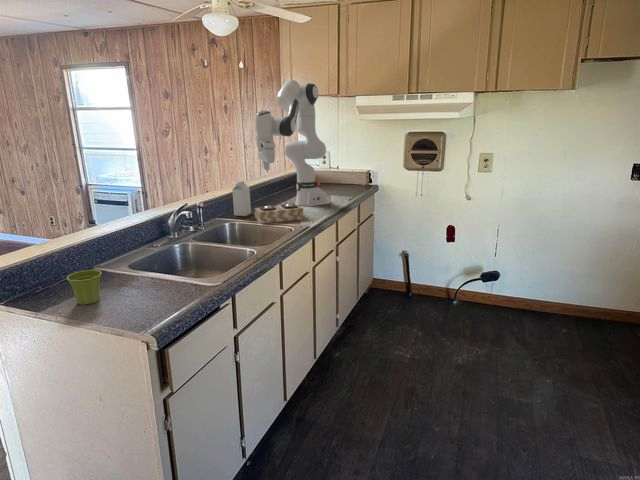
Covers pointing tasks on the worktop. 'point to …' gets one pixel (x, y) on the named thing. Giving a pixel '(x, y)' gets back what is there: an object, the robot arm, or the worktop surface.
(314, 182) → the robot arm
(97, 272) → the plant pot
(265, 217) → the block
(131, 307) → the worktop surface
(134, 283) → the worktop surface
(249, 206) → the milk carton
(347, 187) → the worktop surface
